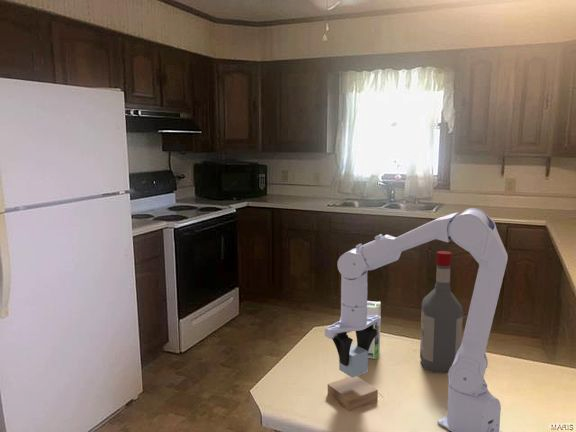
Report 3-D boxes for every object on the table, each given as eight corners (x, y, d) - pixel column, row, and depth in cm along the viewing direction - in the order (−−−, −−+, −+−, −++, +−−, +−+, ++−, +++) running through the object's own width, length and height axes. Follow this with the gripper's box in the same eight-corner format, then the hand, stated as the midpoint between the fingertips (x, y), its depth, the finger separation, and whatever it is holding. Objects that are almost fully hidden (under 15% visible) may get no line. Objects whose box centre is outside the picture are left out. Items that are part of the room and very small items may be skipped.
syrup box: (356, 357, 125) (357, 305, 123) (359, 348, 131) (360, 299, 129) (378, 359, 123) (379, 307, 121) (380, 350, 129) (381, 300, 127)
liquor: (424, 372, 116) (428, 256, 112) (418, 356, 125) (422, 248, 121) (462, 374, 115) (467, 257, 111) (453, 358, 124) (458, 248, 120)
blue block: (367, 371, 103) (367, 350, 103) (352, 377, 101) (352, 356, 100) (354, 364, 107) (354, 344, 106) (339, 369, 105) (339, 348, 104)
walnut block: (377, 402, 104) (377, 389, 103) (349, 412, 100) (349, 400, 99) (354, 386, 110) (355, 374, 110) (327, 396, 106) (327, 383, 106)
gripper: (366, 292, 109) (366, 347, 111) (316, 304, 101) (316, 362, 103) (388, 301, 103) (386, 358, 105) (336, 313, 95) (335, 375, 97)
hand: (353, 361), depth 104 cm, fingers closed on blue block, 4 cm apart
